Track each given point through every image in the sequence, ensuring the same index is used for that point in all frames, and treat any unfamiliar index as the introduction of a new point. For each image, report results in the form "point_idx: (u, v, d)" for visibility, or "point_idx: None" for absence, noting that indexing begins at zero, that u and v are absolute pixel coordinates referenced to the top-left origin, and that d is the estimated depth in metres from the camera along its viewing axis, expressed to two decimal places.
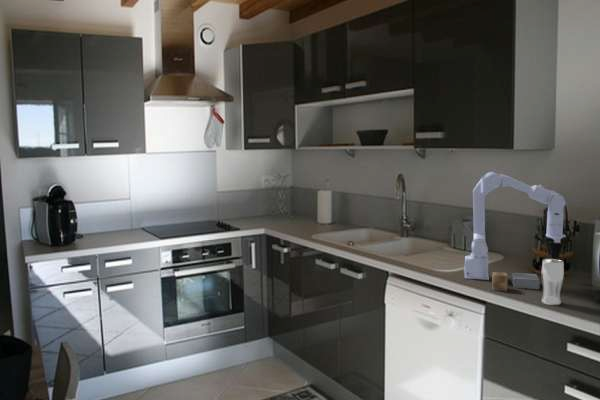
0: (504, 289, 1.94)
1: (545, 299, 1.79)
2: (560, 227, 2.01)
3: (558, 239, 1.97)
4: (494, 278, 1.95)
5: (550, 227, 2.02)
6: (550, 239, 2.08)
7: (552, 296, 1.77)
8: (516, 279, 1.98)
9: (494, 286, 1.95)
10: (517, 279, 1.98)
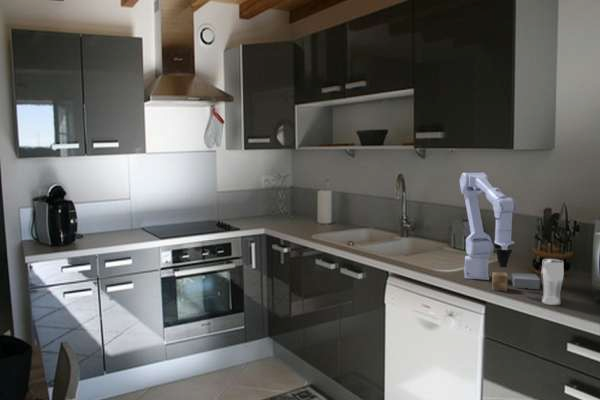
0: (504, 289, 1.94)
1: (545, 299, 1.79)
2: (508, 233, 1.92)
3: (505, 246, 1.88)
4: (494, 278, 1.95)
5: (498, 233, 1.93)
6: (499, 246, 1.99)
7: (552, 296, 1.77)
8: (516, 279, 1.98)
9: (494, 286, 1.95)
10: (517, 279, 1.98)
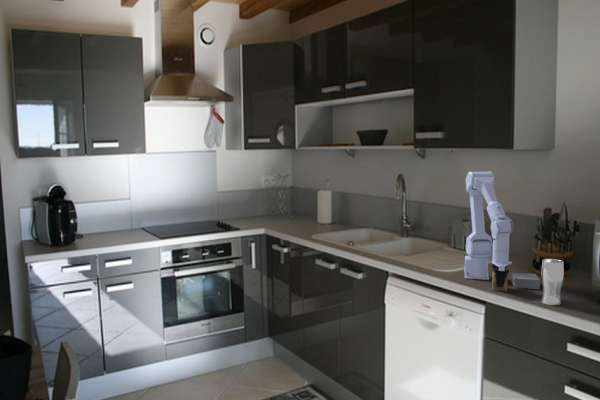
0: (504, 289, 1.94)
1: (545, 299, 1.79)
2: (506, 254, 1.93)
3: (502, 267, 1.89)
4: (494, 278, 1.95)
5: (495, 254, 1.94)
6: (497, 266, 1.99)
7: (552, 296, 1.77)
8: (517, 279, 1.98)
9: (494, 286, 1.95)
10: (518, 279, 1.98)
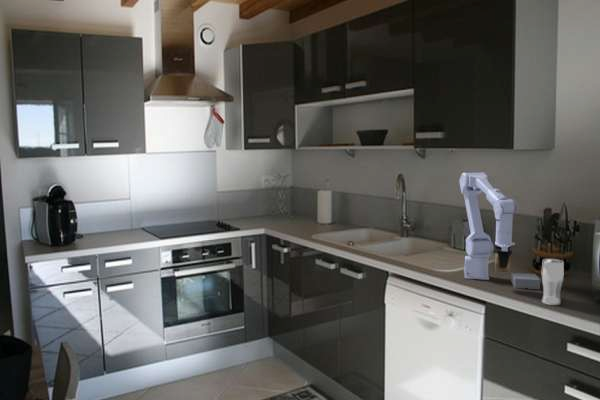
0: (507, 270, 1.94)
1: (545, 299, 1.79)
2: (509, 235, 1.92)
3: (505, 247, 1.89)
4: (497, 259, 1.94)
5: (498, 235, 1.94)
6: (500, 247, 1.98)
7: (552, 296, 1.77)
8: (517, 279, 1.98)
9: (497, 267, 1.95)
10: (518, 279, 1.98)
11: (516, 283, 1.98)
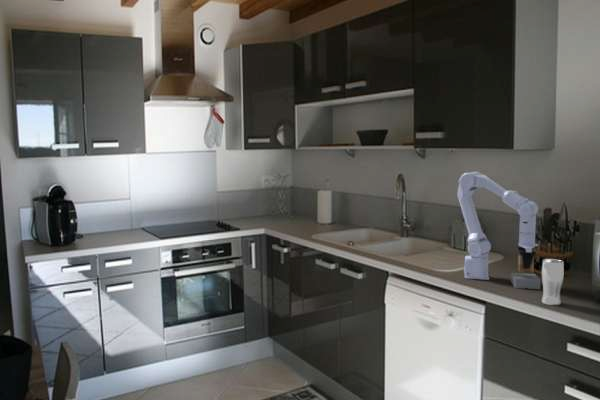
0: (530, 271, 1.98)
1: (545, 299, 1.79)
2: (532, 236, 1.97)
3: (529, 248, 1.93)
4: (521, 260, 1.99)
5: (522, 236, 1.98)
6: (523, 248, 2.03)
7: (552, 296, 1.77)
8: (517, 279, 1.98)
9: (521, 268, 1.99)
10: (518, 279, 1.98)
11: (516, 283, 1.98)
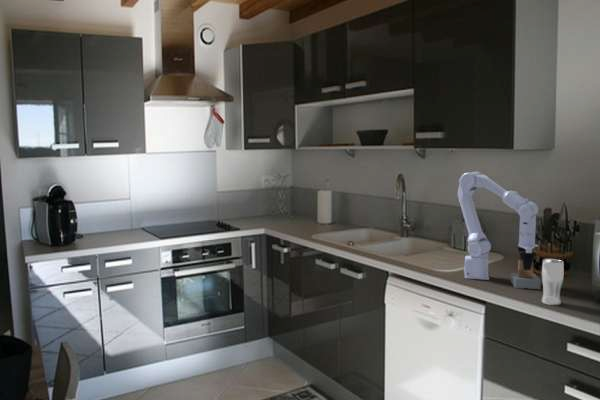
0: (530, 276, 1.98)
1: (545, 299, 1.79)
2: (532, 237, 1.97)
3: (529, 249, 1.93)
4: (520, 265, 1.99)
5: (522, 237, 1.98)
6: (523, 249, 2.04)
7: (552, 296, 1.77)
8: (517, 279, 1.98)
9: (520, 273, 2.00)
10: (518, 279, 1.98)
11: (516, 283, 1.98)
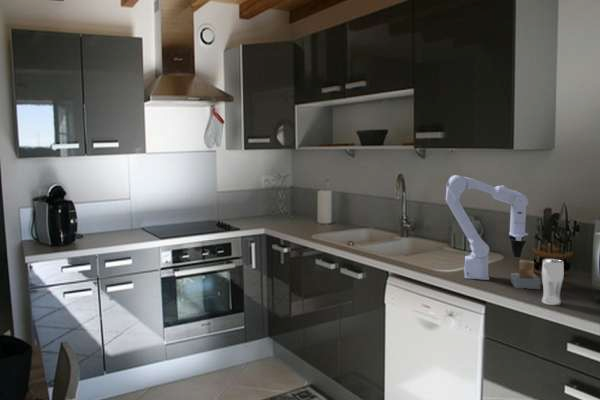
0: (530, 276, 1.98)
1: (545, 299, 1.79)
2: (522, 225, 2.07)
3: (519, 237, 2.03)
4: (520, 265, 1.99)
5: (513, 225, 2.08)
6: (514, 237, 2.14)
7: (552, 296, 1.77)
8: (517, 279, 1.98)
9: (520, 273, 1.99)
10: (518, 279, 1.98)
11: (516, 283, 1.98)
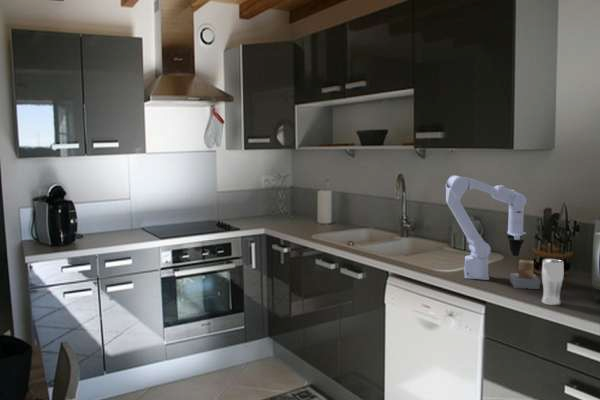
0: (530, 276, 1.98)
1: (545, 299, 1.79)
2: (520, 224, 2.09)
3: (518, 236, 2.05)
4: (520, 265, 1.99)
5: (511, 225, 2.10)
6: (512, 236, 2.16)
7: (552, 296, 1.77)
8: (517, 279, 1.98)
9: (520, 273, 1.99)
10: (518, 279, 1.98)
11: (516, 283, 1.98)
